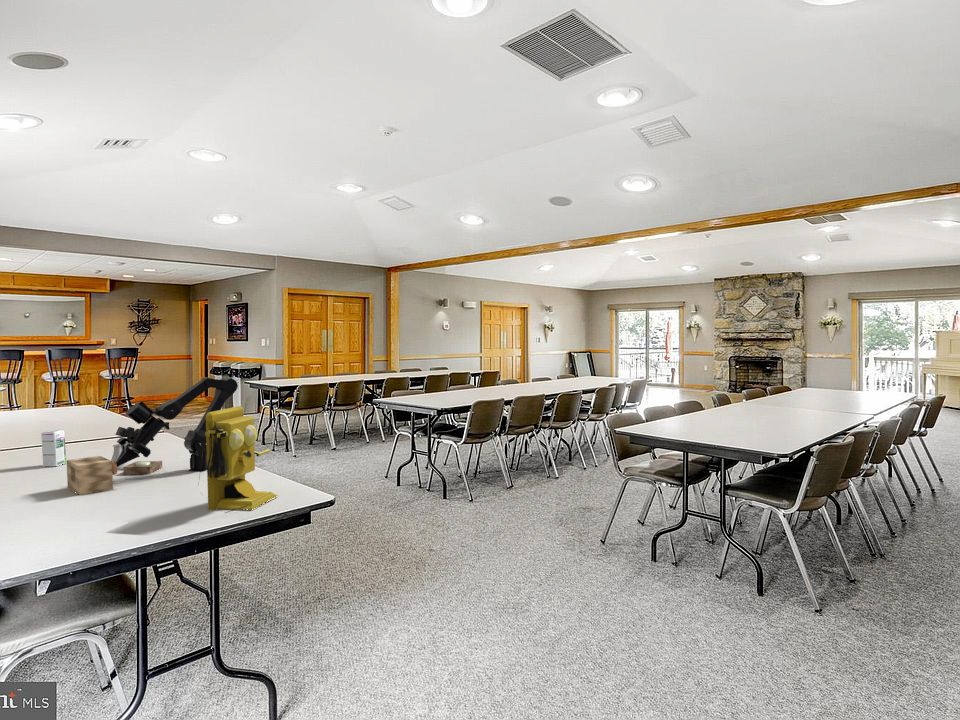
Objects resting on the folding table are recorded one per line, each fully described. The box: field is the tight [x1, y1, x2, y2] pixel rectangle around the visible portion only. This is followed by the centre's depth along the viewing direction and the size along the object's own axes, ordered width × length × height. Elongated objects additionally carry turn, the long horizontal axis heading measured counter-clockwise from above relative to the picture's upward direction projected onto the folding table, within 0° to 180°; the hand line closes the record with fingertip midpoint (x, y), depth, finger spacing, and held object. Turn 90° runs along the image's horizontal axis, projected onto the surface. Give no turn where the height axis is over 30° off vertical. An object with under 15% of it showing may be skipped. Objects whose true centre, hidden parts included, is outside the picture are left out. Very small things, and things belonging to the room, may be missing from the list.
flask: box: [110, 443, 129, 471], centre depth 233 cm, size 7×7×10 cm
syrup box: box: [40, 429, 67, 468], centre depth 241 cm, size 6×6×14 cm
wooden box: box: [66, 455, 114, 496], centre depth 203 cm, size 10×14×10 cm
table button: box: [136, 462, 150, 466], centre depth 229 cm, size 5×5×3 cm
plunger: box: [112, 461, 118, 476], centre depth 206 cm, size 8×5×5 cm, turn 139°
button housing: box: [122, 460, 163, 475], centre depth 229 cm, size 10×10×3 cm
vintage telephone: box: [198, 405, 279, 514], centre depth 183 cm, size 31×14×30 cm, turn 170°
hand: (115, 465), depth 209 cm, fingers closed, pressing on plunger
